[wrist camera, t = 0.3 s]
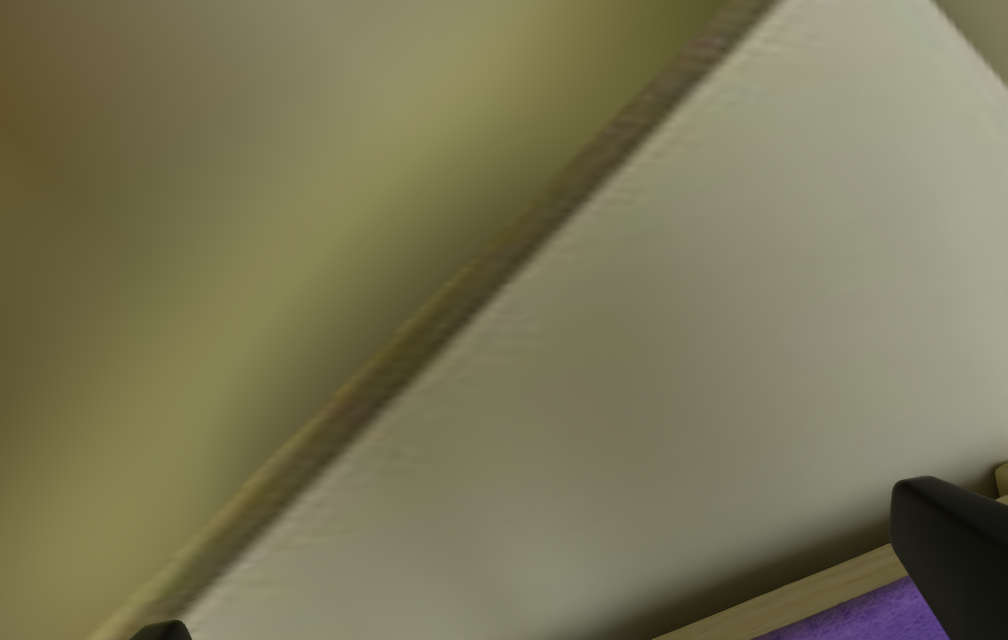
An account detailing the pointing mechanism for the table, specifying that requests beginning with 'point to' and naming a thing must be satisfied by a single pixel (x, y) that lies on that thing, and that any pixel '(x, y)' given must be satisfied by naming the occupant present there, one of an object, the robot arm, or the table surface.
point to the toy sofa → (834, 604)
